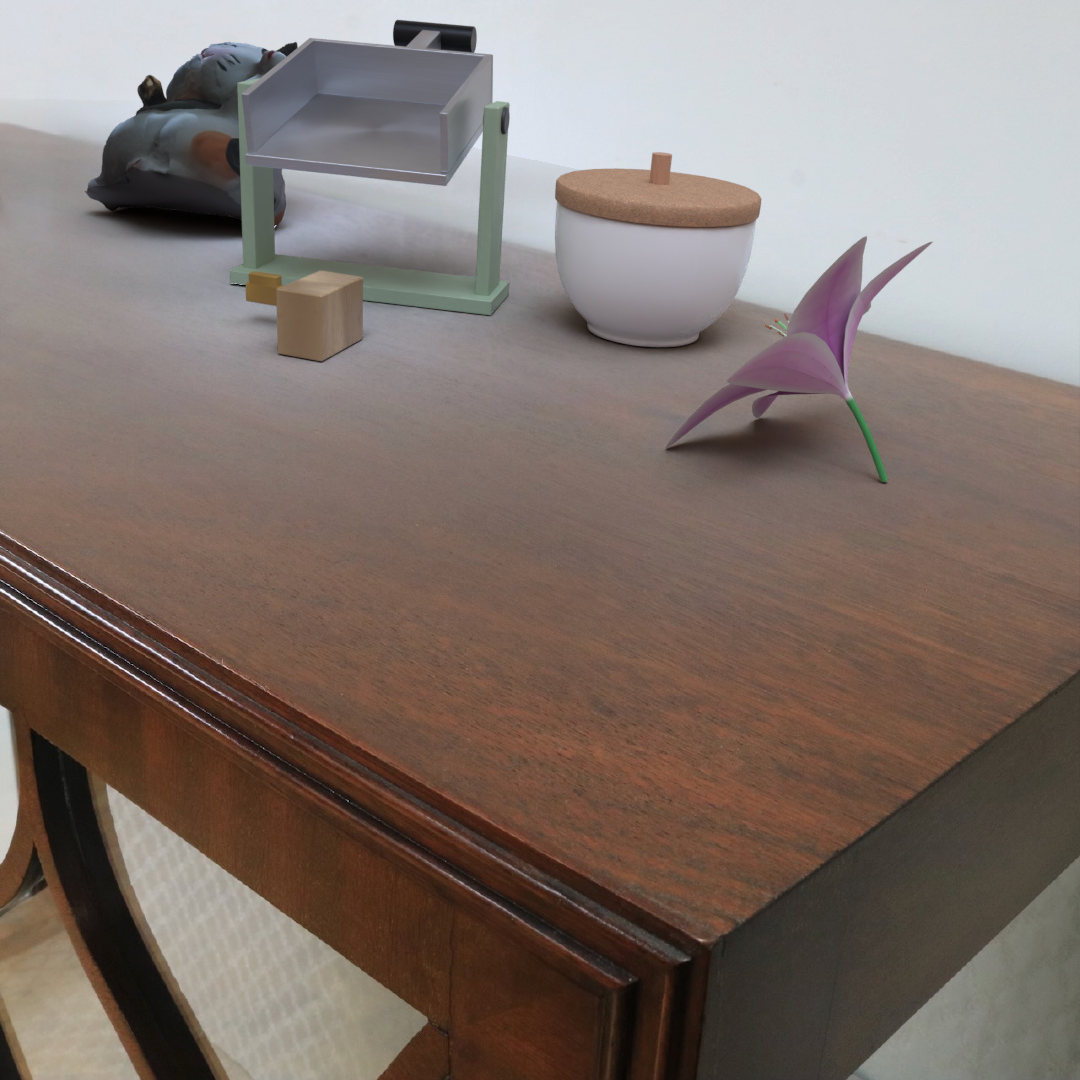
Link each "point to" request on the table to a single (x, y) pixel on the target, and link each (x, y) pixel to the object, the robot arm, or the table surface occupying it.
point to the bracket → (378, 280)
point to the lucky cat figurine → (187, 138)
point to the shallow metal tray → (373, 105)
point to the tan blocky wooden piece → (312, 311)
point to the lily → (811, 345)
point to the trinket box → (652, 250)
